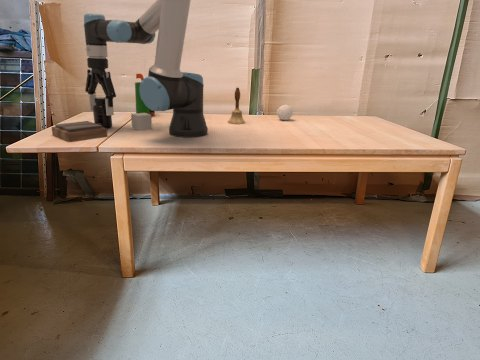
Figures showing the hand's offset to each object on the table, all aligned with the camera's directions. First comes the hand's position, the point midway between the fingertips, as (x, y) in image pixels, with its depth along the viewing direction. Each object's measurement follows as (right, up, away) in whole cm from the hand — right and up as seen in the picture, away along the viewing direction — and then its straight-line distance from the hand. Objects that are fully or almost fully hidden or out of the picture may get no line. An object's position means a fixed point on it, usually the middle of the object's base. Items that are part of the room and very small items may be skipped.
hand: (101, 112), depth 150 cm
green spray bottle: (+10, +4, +32) cm, 34 cm away
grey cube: (+16, -6, +2) cm, 17 cm away
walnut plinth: (-3, -11, -14) cm, 18 cm away
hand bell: (+55, -1, +23) cm, 59 cm away
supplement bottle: (0, -6, +2) cm, 6 cm away
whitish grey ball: (+78, +2, +33) cm, 85 cm away
